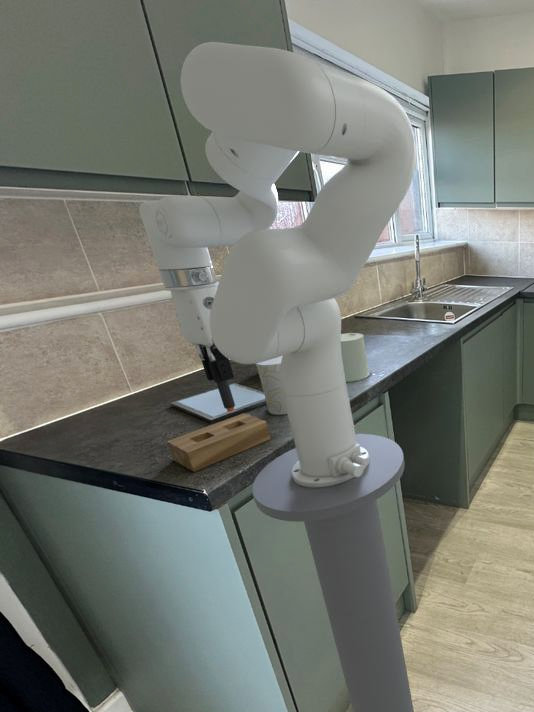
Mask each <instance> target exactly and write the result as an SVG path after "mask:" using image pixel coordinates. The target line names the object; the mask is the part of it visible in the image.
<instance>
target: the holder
mask: <svg viewBox="0 0 534 712" xmlns="http://www.w3.org/2000/svg"><path fill="white" fill-rule="evenodd" d="M269 440H271V435H270V430H269V427H268V423H267V421H266V420H263V419H261V418H259V417H256V416H253V415H251V414H248V413H246V412H242V413H239V414H237V415H234V416H231V417H229V418H226V419H223V420H220V421H218V422H215V423H212V424H211V425H208V426H205V427H203V428H199V429H197V430H194V431H191V432H189V433H188V432H187V433H186V434H183V435H180V436H177V437H175V438H172V439H170V440H167V441H166V443H167V446H168V448H169V451H170V454H171V457H172V460H173V461H175V462H176V463H177V464H179V465H182V466H183V467H185V468H186V469H188V470H190V471H192V472H193V473H196V472H198V471H201V470H203V469H205V468H207V467H210V466H212V465H214V464H216V463H218V462H221V461H223V460H225V459H227V458H231V457H232V456H235V455H237V454H239V453H242V452H244V451H246V450H249V449H251V448H253V447H255V446H257V445H260V444H262V443H264V442H267V441H269Z"/></svg>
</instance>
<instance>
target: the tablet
mask: <svg viewBox="0 0 534 712" xmlns="http://www.w3.org/2000/svg"><path fill="white" fill-rule="evenodd" d="M229 387H230V390H231V393H232V396H233V400H234V403H235V406H234V409H235V410H234V411H231V412H228V411H227V409H225V408H224V405H223V402H222V399H221V396H220V393H219V390H218V387H217V388H214V389H211V390H208V391H204V392H202V393H199V394H195V395H192V396H188V397H185V398H181V399H178V400H175V401H171V402H170V405H171V407H174V408H176V409H178V410H181V411H182V412H185V413H187V414H189V415H192V416H194V417H196V418H199V419H201V420H203V421H206V422H208V423H210V424H215V423H218V422H221V421H224V420H226V419H229V418H232V417H235V416H237V415H240V414H243V413H246V412H247V411H250V410H253V409H256V408H259V407H261V406H264V405H267V403H266V399H265V395H264V391H261V390H258V389H255V388H251V387H248V386H245V385H243V384H242V385H241V384H239V383H236V382H233V383H230V384H229Z"/></svg>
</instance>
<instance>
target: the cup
mask: <svg viewBox="0 0 534 712" xmlns="http://www.w3.org/2000/svg"><path fill="white" fill-rule="evenodd" d="M282 357H283V356H280V357H277V358H274V359H271V360H267V361H264V362H260V363H256V365H257V368H258V369H257V368H256V369H257V373H258V377H259V379H260V383H261V387H262V392H264V395H265V399H266V403H267V404H266V407H267V410H268V413H269V414H271V415H278V416H279V415H288V414H287V410H286V406H285V402H284V398H283V394H282V389H281V385H280V379H279V372H280V365H281V360H282Z"/></svg>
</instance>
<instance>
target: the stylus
mask: <svg viewBox="0 0 534 712" xmlns="http://www.w3.org/2000/svg"><path fill="white" fill-rule="evenodd" d="M213 351H214V350H213ZM207 355H208V352H207ZM208 358H209V356H208ZM209 361H210V359H209ZM210 362H211V361H210ZM215 383H216V386H217V388H218V390H219V393H220V396H221V399H222V402H223V405H224V408H225V409H227V411H228V412H231V411H234V410H235V409H234V406H235V403H234V400H233V396H232V393H231V390H230V387H229V385H230V384H229V380H225V381H222V382H219V383H217V382H215Z"/></svg>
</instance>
